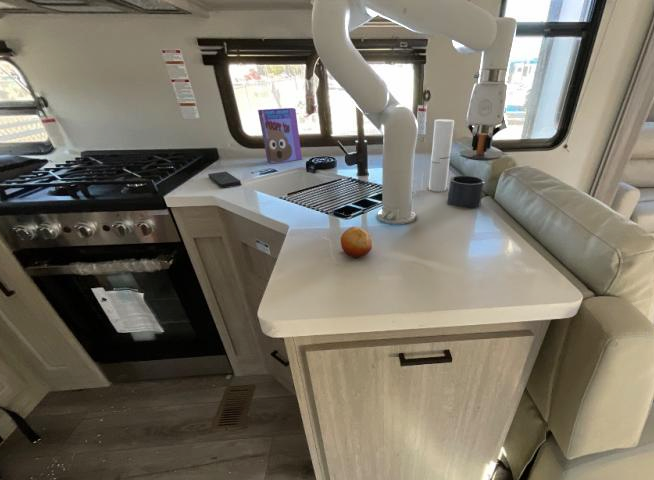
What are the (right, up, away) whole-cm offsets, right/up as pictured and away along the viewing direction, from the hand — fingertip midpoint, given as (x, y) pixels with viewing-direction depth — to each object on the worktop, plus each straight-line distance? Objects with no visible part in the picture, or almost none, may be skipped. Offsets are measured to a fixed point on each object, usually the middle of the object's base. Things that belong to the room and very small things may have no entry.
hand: (480, 149), depth 99 cm
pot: (0, -10, +20) cm, 23 cm away
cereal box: (-83, +28, +74) cm, 114 cm away
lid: (0, -1, +1) cm, 2 cm away
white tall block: (-8, 0, +35) cm, 36 cm away
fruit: (-37, -34, -14) cm, 52 cm away
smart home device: (-99, +5, +41) cm, 107 cm away
